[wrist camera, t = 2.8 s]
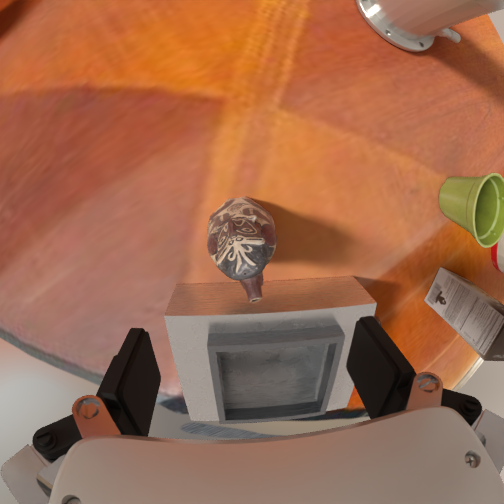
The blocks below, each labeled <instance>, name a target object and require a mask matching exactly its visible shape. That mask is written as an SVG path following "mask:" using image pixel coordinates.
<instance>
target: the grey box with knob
mask: <svg viewBox="0 0 504 504" xmlns="http://www.w3.org/2000/svg"><path fill="white" fill-rule="evenodd" d="M261 290H262V299H261V300H260V301H258V302H256V303H251V302H249V300H248V297H247V293H246V290H245V289H243V287H242V285H241V283H240V282H236V283H206V284H176V287H175V289H174V292H173V294H172V297H171V299H170V302H169V305H168V307H167V310H166V312H165V315H164V317H165V322H166V327H167V331H168V336H169V340H170V345H171V349H172V353H173V357H174V361H175V365H176V369H177V373H178V377H179V381H180V384H181V388H182V391H183V395H184V398H185V402H186V405H187V408H188V412H189V415H190V418H191V420H192V421H194V420H195V421H219V422H220V424H236V423H257V422H270V421H280V420H289V419H297V418H304V417H311V416H317V415H323V414H325V413H326V411H330V410H335V409H340V408H345V407H347V404H348V401H349V399H350V396H351V393H352V390H353V387H354V383H353V381H352V379H351V377H350V375H349V373H348V371H347V368H346V362H347V358H348V354H349V350H350V346H351V342H352V338H353V333H354V329H355V324H356V321H358V320H359V319H360V317H365V316H373V317H374V318H375V319H376V321H377V322H378V323H379V324H380V326H381V323H380V320H379V318H378V317H377V316H374V314H375V310H376V305H377V302H376V301H375V300H374V299H373V298H372V297H371V296H370V294H369V293H368V292H367V291H366V290H365V289H364V288H363V287H362V286H361V284H360V283H359V282H358V281H357V280H356V279H355V278H354V277H353V276H346V277H332V278H316V279H299V280H281V281H263V285H262V286H261Z"/></svg>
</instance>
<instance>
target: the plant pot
mask: <svg viewBox="0 0 504 504" xmlns="http://www.w3.org/2000/svg"><path fill="white" fill-rule="evenodd" d="M439 205H440V209H441V210H442V212H443V214H444V215H445V216H446V217H447V218H449V219H450V220H452V221H453V222H455V223H457V224H458V225H460V226H461V227H463V228H464V229H466V230H467V231H468V232H470V233H471V234H472V236H473V237H474V238H475V239H476V241H477V242H478V243H479V245H481V246H482V247H485V248H488V247H492V246H493V245H495V244H496V243H497V242H498V241H499V239H500V238H501V236H502V234H503V232H504V178H503V177H502V176H501V175H500V174H498V173H490V174H488V175H485V176H482V177H449V178H447V179H446V182H445V183H444V184H443V186H442V187H441V189H440V193H439Z"/></svg>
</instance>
